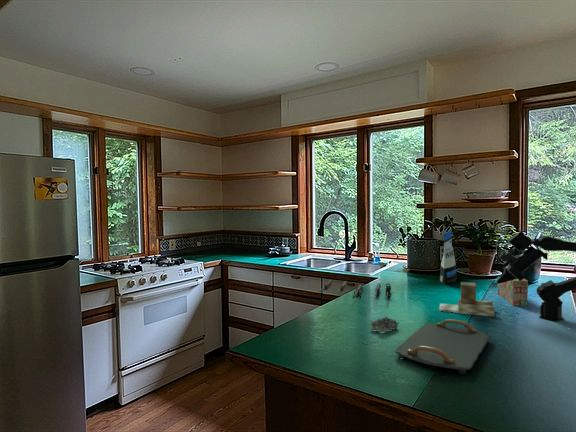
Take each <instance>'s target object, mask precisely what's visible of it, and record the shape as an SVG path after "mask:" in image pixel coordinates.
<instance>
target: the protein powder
mask: <svg viewBox="0 0 576 432" xmlns="http://www.w3.org/2000/svg"><path fill="white" fill-rule="evenodd" d="M452 236H453V234H452V229H451V230H449V231H447V232H445V233H443V255H442V259H441V263H440V273H439V282H440V283H441V284H442V285H449V284H450V285H451V284H455V283H456V282H457V281H458V280H457V278H458V276H457V265H456V258H455V257H456V256H455V252H454V247H453V245H452V241H453V239H452Z"/></svg>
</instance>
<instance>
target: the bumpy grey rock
mask: <svg viewBox="0 0 576 432" xmlns="http://www.w3.org/2000/svg"><path fill="white" fill-rule="evenodd" d="M369 325H370V326H371V331H372V330H379V332H384V333H386V332H387V330H389V331H392V332H393V330H392V329H393V328H394V329H397V328H398V327H399V325H400V321H397V320H395V319H392V318H389V317H387V316H384V317H383V318H379V319H376V320H371V321H370V323H369ZM397 330H398V329H397ZM379 332H378V333H379ZM387 333H388V332H387Z"/></svg>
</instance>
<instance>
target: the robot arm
mask: <svg viewBox="0 0 576 432" xmlns="http://www.w3.org/2000/svg"><path fill="white" fill-rule="evenodd" d="M507 243H509V244H510V245H511V246H512V247H513V248H515V249H516V250H517V251H518V252H520V251H522V253H521V254H517V255H513V253H512V252H510V251H508V252H506V251H504V250H501V251H500V253H499V255H498V258H499V259H500V260H503V261H504V262H503V263H502V264H503V265H505V266H503V271H502V273H501V275H500V276H498V277H499V279H498V280H497V279H496V283H497V285H498V284H500V283H503V282H507V281H511V280H515V279H518V280H519V281H521V280H523V279H525V275H524V272H525V271H526V270H527V269H528V268H529V269H530V268H532V267H533V266H532V265H533V264H535V263H536V262H537V261H539V260H540V259H541V258H543V259H544V260H546V261H547V260H548V258H549V257H548V254H549V253H548V252H560V251H568V252H575V253H576V241H567V240H563V239H560V238H557V237H552V236H549V235H541V236H540V237H539V238H532V239H531V238H529V237H528V236H527V235H526V234H525V233H524V231H522V230H521V231H519V232H517V233H515V234H514V235H512V236H510V237H509V238H508V240H507ZM534 246H535V247H536V248H535V247H534ZM544 251H548V252H544ZM574 290H576V276H574V277H571V278H569V279H565V280H562V281H560V282H555V281H553V280H551V279H550V280H548V281H546V282H542V283H540V285H538V286H537V288H536V295H537V296H538V297H539V298H540V299H541V300H542V302H541V305H540V310H539V311H540V312H539V313H540V315H539V316H538V317H539V318H541V319H544V320H548V321H552V322H558V321H562V320H564V319H565V317H563V313H562V312H563V301H562V300H561V299H560V297H561V296H563V295H564V294H565V293H568V292H571V291H574Z"/></svg>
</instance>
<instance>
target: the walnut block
mask: <svg viewBox="0 0 576 432" xmlns="http://www.w3.org/2000/svg"><path fill="white" fill-rule="evenodd" d="M460 299H461V304H473V305H476V300H477V285H476V282H469V281H468V282H466V281H465V282H464V281H461V282H460Z"/></svg>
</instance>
